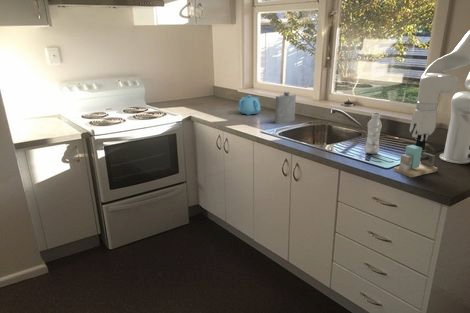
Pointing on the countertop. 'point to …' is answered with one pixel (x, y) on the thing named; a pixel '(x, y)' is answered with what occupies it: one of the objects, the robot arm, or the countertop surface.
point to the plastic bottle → (373, 134)
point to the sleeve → (414, 155)
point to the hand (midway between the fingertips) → (419, 149)
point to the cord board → (423, 168)
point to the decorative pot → (249, 105)
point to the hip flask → (285, 108)
